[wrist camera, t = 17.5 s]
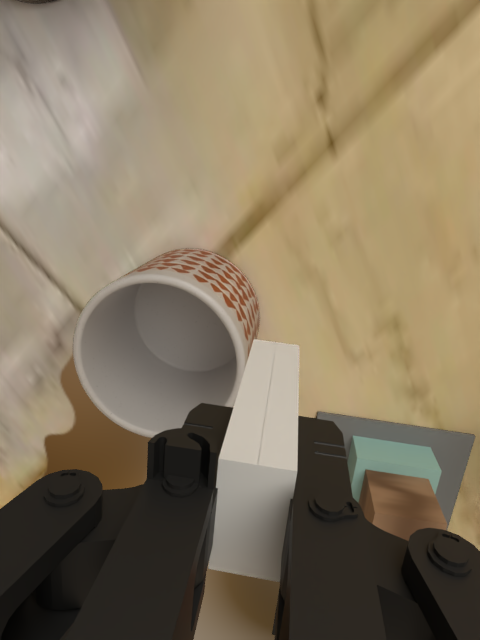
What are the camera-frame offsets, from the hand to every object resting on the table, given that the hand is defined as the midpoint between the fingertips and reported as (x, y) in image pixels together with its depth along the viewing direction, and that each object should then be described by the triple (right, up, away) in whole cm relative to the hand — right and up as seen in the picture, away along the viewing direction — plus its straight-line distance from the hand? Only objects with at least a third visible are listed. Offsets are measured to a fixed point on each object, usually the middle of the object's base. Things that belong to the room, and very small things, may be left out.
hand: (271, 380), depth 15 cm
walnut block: (+14, -16, +30) cm, 36 cm away
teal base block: (+14, -15, +33) cm, 39 cm away
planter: (-6, +3, +31) cm, 32 cm away
